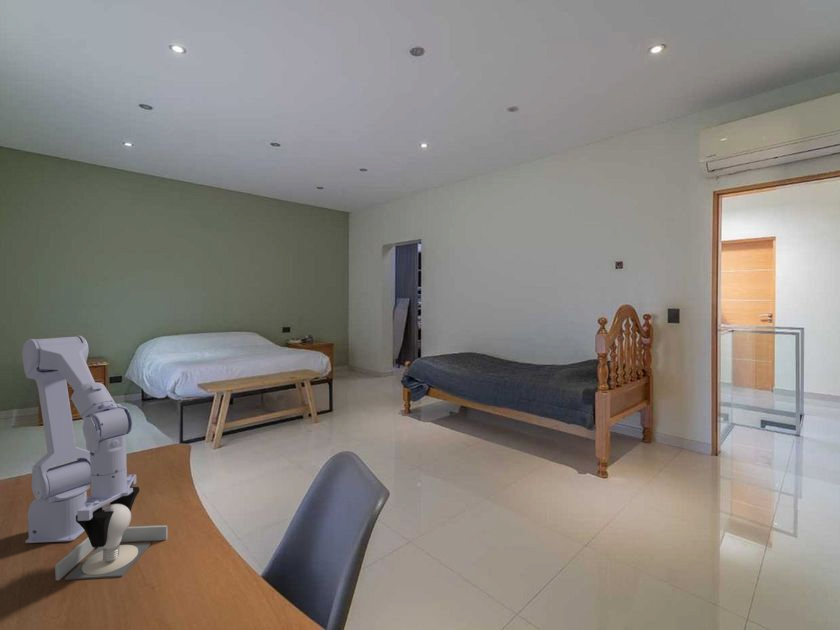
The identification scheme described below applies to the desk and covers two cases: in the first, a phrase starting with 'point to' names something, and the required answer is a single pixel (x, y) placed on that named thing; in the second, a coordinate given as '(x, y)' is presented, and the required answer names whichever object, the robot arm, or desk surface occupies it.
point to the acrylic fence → (128, 536)
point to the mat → (108, 563)
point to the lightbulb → (115, 530)
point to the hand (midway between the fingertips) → (110, 535)
